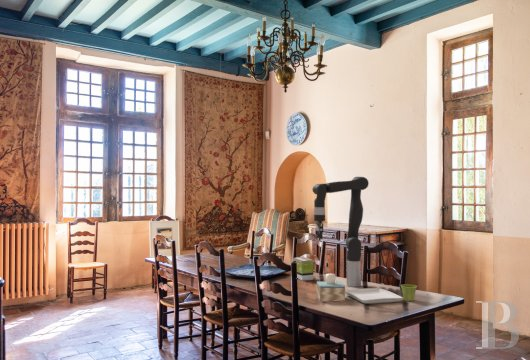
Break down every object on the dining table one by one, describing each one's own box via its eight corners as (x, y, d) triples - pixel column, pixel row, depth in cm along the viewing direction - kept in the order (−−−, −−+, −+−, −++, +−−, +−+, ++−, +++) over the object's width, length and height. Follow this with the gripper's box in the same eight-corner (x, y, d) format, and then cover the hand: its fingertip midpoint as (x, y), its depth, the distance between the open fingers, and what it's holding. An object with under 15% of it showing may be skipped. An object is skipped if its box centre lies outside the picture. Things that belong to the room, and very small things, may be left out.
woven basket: (340, 296, 289) (340, 283, 289) (345, 301, 276) (345, 287, 276) (316, 296, 288) (316, 283, 288) (319, 301, 275) (319, 287, 275)
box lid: (340, 283, 289) (340, 281, 289) (345, 287, 276) (345, 285, 276) (316, 283, 288) (316, 281, 288) (319, 287, 275) (319, 285, 275)
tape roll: (334, 282, 285) (334, 273, 285) (336, 284, 279) (336, 275, 279) (325, 282, 285) (325, 273, 285) (326, 284, 279) (326, 275, 279)
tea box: (292, 277, 350) (292, 257, 350) (303, 276, 354) (303, 256, 355) (301, 280, 337) (302, 260, 337) (313, 279, 341) (314, 259, 341)
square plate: (362, 306, 266) (362, 299, 266) (342, 295, 292) (342, 289, 292) (404, 303, 273) (404, 296, 273) (380, 293, 300) (380, 287, 300)
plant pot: (405, 297, 286) (405, 283, 286) (419, 300, 279) (419, 285, 279) (397, 300, 280) (397, 285, 280) (411, 303, 273) (411, 288, 273)
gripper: (327, 214, 304) (327, 239, 304) (323, 213, 318) (323, 237, 318) (315, 214, 304) (315, 239, 304) (312, 213, 318) (312, 237, 318)
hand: (319, 238), depth 311 cm, fingers open, 8 cm apart
